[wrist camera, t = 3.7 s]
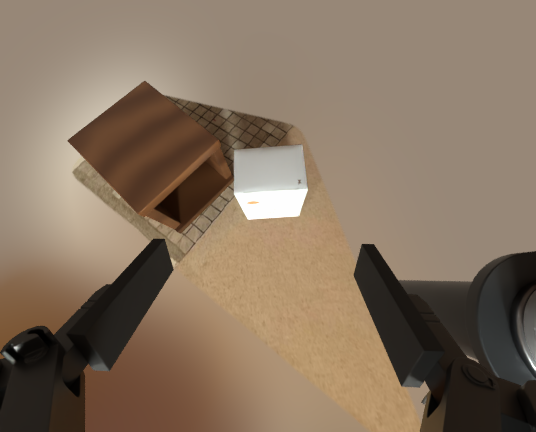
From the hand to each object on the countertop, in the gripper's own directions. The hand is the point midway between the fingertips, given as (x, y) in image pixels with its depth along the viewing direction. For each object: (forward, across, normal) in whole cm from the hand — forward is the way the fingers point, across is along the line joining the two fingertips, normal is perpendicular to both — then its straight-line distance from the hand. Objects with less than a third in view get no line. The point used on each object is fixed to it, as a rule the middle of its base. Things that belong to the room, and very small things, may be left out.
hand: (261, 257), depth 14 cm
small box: (+19, 0, +4) cm, 19 cm away
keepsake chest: (+21, +15, +2) cm, 26 cm away
